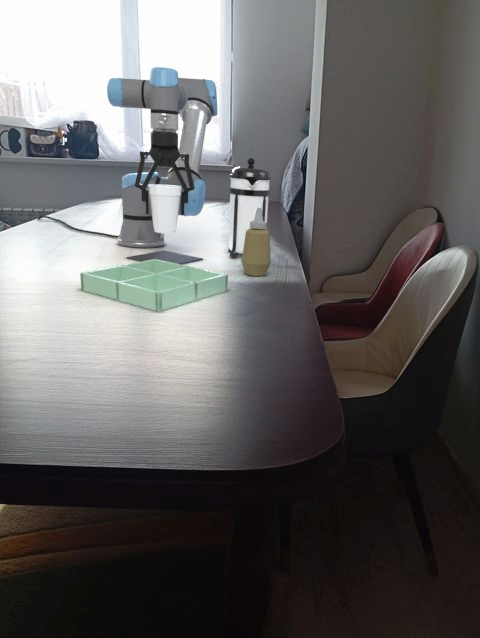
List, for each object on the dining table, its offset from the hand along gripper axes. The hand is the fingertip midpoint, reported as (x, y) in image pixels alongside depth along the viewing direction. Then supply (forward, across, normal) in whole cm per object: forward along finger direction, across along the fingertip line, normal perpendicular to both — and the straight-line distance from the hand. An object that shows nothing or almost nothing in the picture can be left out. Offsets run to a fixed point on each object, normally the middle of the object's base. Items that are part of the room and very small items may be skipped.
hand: (165, 214), depth 150 cm
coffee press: (+13, +26, +9) cm, 31 cm away
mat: (+13, 0, 0) cm, 13 cm away
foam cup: (+5, 0, 0) cm, 5 cm away
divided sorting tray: (+13, -4, -36) cm, 39 cm away
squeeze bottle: (+13, +24, -18) cm, 33 cm away
